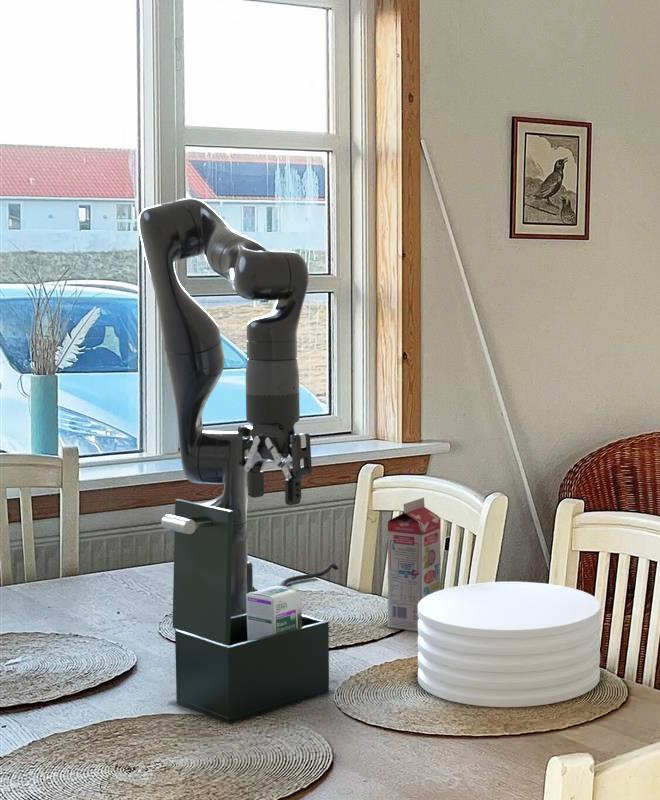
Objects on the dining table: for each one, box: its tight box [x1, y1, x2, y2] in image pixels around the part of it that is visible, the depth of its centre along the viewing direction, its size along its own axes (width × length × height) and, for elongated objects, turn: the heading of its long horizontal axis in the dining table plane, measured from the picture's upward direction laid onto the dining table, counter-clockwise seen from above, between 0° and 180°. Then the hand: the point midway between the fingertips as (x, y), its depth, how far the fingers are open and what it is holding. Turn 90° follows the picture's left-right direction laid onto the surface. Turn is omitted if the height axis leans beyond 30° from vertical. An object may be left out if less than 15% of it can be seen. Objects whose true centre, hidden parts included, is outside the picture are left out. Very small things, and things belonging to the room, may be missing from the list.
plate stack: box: [417, 581, 602, 708], centre depth 209 cm, size 28×28×12 cm
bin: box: [174, 613, 330, 725], centre depth 197 cm, size 18×13×11 cm
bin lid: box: [160, 498, 233, 645], centre depth 187 cm, size 18×13×5 cm
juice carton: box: [387, 496, 442, 632], centre depth 236 cm, size 7×7×22 cm
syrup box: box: [246, 584, 303, 641], centre depth 200 cm, size 6×6×14 cm
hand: (274, 500), depth 197 cm, fingers open, 8 cm apart
